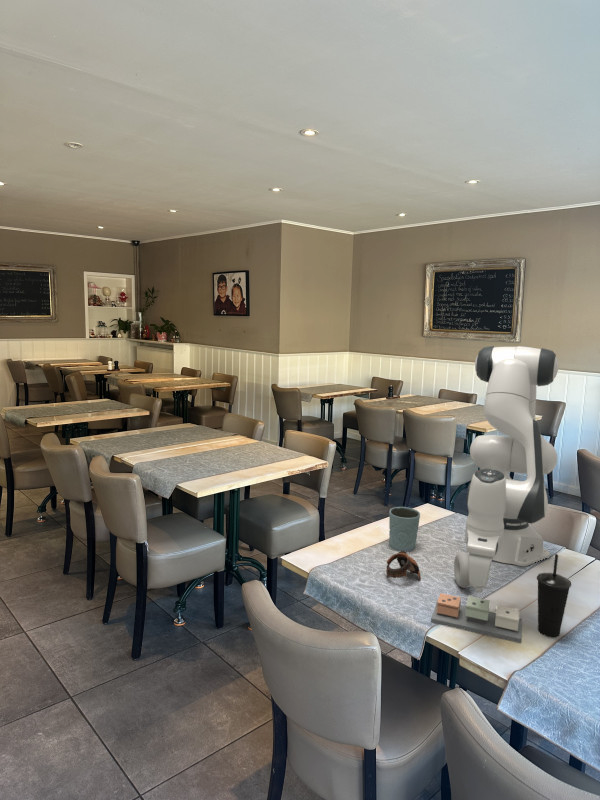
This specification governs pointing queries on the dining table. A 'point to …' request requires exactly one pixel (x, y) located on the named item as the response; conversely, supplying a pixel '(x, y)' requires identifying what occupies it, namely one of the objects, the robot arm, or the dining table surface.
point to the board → (478, 624)
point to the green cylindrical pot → (403, 528)
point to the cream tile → (507, 618)
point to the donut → (462, 569)
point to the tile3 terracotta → (448, 605)
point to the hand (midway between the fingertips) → (479, 589)
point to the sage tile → (477, 608)
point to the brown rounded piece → (402, 566)
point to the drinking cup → (551, 601)
